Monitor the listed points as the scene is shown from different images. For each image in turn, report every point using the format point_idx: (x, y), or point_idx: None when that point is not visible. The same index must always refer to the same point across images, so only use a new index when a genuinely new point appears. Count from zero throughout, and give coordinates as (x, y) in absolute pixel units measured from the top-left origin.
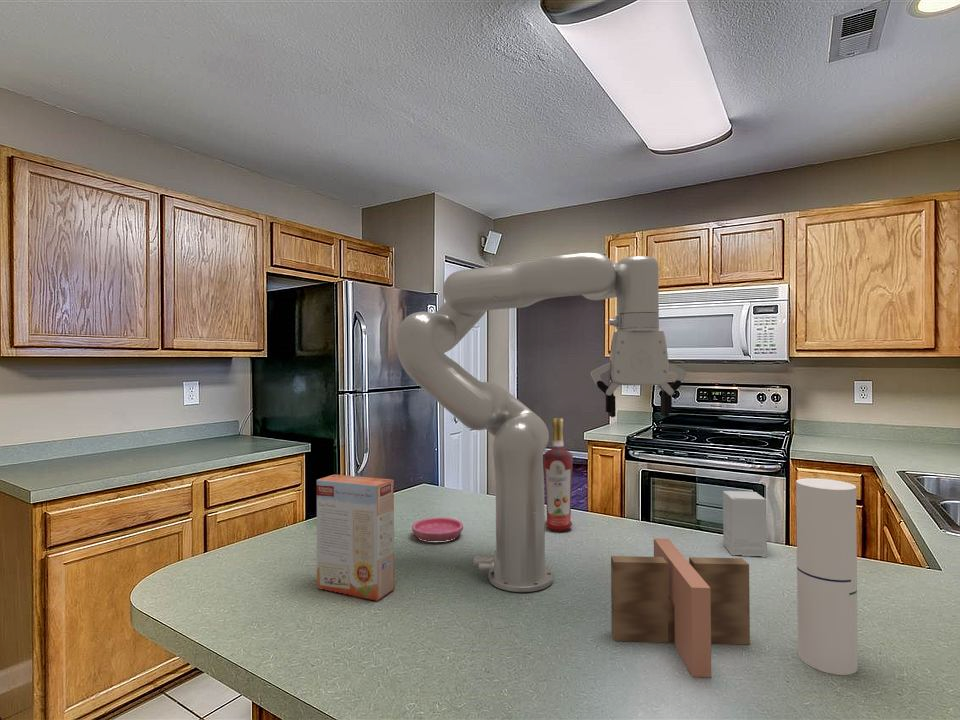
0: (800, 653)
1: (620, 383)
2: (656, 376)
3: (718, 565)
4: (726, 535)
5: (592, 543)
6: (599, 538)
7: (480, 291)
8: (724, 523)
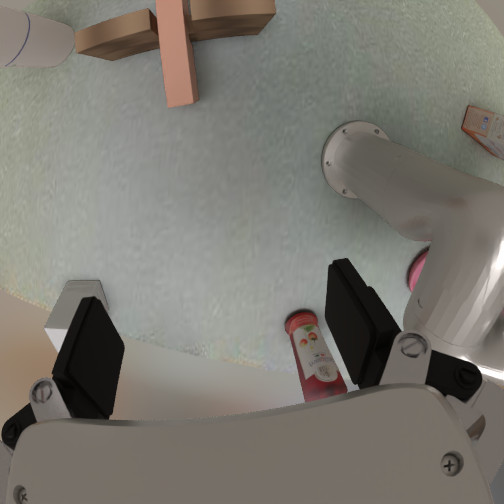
0: (72, 36)
1: (395, 386)
2: (72, 475)
3: (115, 18)
4: None
5: (262, 286)
6: (252, 303)
7: None
8: None
